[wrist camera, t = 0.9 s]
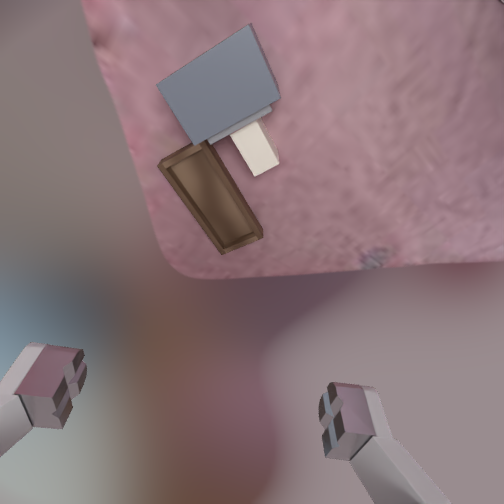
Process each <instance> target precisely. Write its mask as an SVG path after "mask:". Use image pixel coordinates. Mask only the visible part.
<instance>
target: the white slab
mask: <svg viewBox="0 0 504 504" xmlns="http://www.w3.org/2000/svg"><path fill="white" fill-rule="evenodd" d="M230 136H231V138H232V139H233V141H234V143H235V144H236V146H237V148H238V149H239V151H240V153H241V154H242V156H243V158H244V160H245V161H246V163H247V165H248V166H249V168H250V170H251V171H252V173H253V175H254V176H257V175H259V174H261V173H263V172H265V171H267V170H269V169H270V168H272V167H274V166H276V165H278V164H279V156H278V150H277V148H276V146H275V144H274V142H273V140H272V138H271V136H270V134H269V132H268V130H267V129H266V127H265V125H264V123H263V121H262V119H261V117H260V118H259V119H257V120H255V121H253V122H251V123H249V124H248V125H246V126H244V127H242V128H240V129H238V130H237V131H235V132H233V133H231V134H230Z"/></svg>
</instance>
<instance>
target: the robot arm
mask: <svg viewBox="0 0 504 504" xmlns="http://www.w3.org/2000/svg"><path fill="white" fill-rule="evenodd" d="M501 1H502V2H503V3H504V0H501ZM84 356H85V355H84V351H83V349H77V348H69V347H62V346H54V345H49V344H42V343H34V342H31V343H30V344H28V345H27V346H26V347H25V348H24V349H23V350H22V352H21V353H20V355H19V356H18V357H17V359H16V360H15V362H14V363H13V365H12V366H11V367H10V369H9V370H8V372H7V373H6V374H5V376H4V377H3V379H2V380H1V381H0V457H1V456H2V455H3V454H4V453H5V452H7V451H8V450H9V449H10V448H11V447H12V446H13V445H15V444H16V443H17V442H18V441H19V440H20V439H22V438H23V437H24V436H25V435H26V434H27V433H28V432H30V431H31V430H32V427H41V428H53V429H63V427H64V425H65V423H66V421H67V419H68V417H69V414H70V412H71V411H72V408H73V406H72V401H71V400H72V399H73V398H74V397H76V396H77V395H78V394H80V392H81V389H82V387H83V385H84V382H85V379H86V375H87V366H86V363H84V362H83V361H82V360H83V358H84ZM327 389H328V392H326V393H324V394H323V395H322V397H321V399H320V402H319V420H320V423H321V424H322V426H323V427H324V428H325V431H324V433H323V435H322V440H323V447H324V453H325V457H326V458H332V459H340V460H347V461H350V464H351V466H352V467H353V469H354V471H355V472H356V474H357V475H358V477H359V479H360V480H361V482H362V484H363V485H364V487H365V488H366V490H367V492H368V494H369V495H370V497H371V498H372V500H373V502H374V503H375V504H452V503H451V502H450V501H449V500H448V498H447V497H446V496H445V495H444V494H443V493H442V491H441V490H440V489H439V488H438V487H437V485H436V484H435V483H434V482H433V481H432V480H431V478H430V477H429V476H428V475H427V474H426V473H425V472H424V470H423V469H422V468H421V467H420V465H419V464H418V463H417V462H416V461H415V460H414V458H413V457H412V456H411V455H410V454H409V453H408V451H407V450H406V449H405V448H404V447H403V446H402V444H401V443H400V442H399V441H398V440H397V439H393V437H392V434H391V431H390V428H389V425H388V422H387V419H386V416H385V413H384V410H383V406H382V403H381V400H380V397H379V394H378V391H377V390H376V389H375V388H374V387H369V386H360V385H354V384H345V383H337V382H331V383H329V385H328V387H327Z"/></svg>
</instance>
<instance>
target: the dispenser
mask: <svg viewBox="0 0 504 504" xmlns="http://www.w3.org/2000/svg"><path fill="white" fill-rule="evenodd" d="M156 86H157V87H158V89H159V91H160V92H161V94H162V95H163V97H164V98H165V100H166V102H167V103H168V105H169V106H170V108H171V110H172V111H173V113H174V114H175V116H176V118H177V119H178V121H179V122H180V124H181V125H182V127H183V129H184V130H185V132H186V133H187V135H188V137H189V138H190V140H191V141H192V143H193V144H194V146H195V145H197V144H199V143H201V142H202V141H204V140H206V139H207V140H208V142H209V143H210V145H211V144H213V143H215V142H216V141H218V140H220V139H222V138H224V137H226V136H227V135H229V134H231V133H233V132H235V131H237V130H238V129H240V128H242V127H244V126H246V125H248V124H249V123H251V122H253V121H255V120H257V119H259V118H260V117H262V116H264V115H266V114H268V113H270V112H271V111H272V108H271V106H270V104H271V103H273V102H275V101H276V100H278V99H280V98H281V97H280V92H279V87H278V84H277V81H276V79H275V77H274V75H273V72H272V70H271V68H270V65H269V63H268V61H267V58H266V56H265V54H264V51H263V49H262V47H261V44H260V42H259V40H258V37H257V35H256V33H255V31H254V28H253V26H252V24H251V23H250V24H248V25H247V26H245V27H244V28H242V29H241V30H239V31H238V32H236V33H234V34H233V35H231V36H230V37H228V38H227V39H225V40H224V41H222V42H221V43H219V44H218V45H216V46H214V47H213V48H211V49H210V50H208V51H207V52H205V53H204V54H202V55H201V56H199V57H198V58H196V59H194V60H193V61H191V62H190V63H188V64H187V65H185V66H184V67H182V68H181V69H179V70H178V71H176V72H174V73H173V74H171V75H170V76H168V77H167V78H165V79H164V80H162V81H161V82H159V83H158V84H156Z"/></svg>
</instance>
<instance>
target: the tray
mask: <svg viewBox="0 0 504 504" xmlns="http://www.w3.org/2000/svg"><path fill="white" fill-rule="evenodd" d="M157 167H158V168H159V169H160V171H161V172H162V173H163V175H164V176H165V178H166V179H167V180H168V182H169V183H170V184H171V186H172V187H173V189H174V190H175V191H176V193H177V194H178V196H179V197H180V198H181V200H182V201H183V202H184V204H185V205H186V207H187V208H188V209H189V211H190V212H191V213H192V215H193V216H194V218H195V219H196V220H197V222H198V223H199V224H200V226H201V227H202V229H203V230H204V231H205V233H206V234H207V236H208V237H209V238H210V240H211V241H212V242H213V244H214V245H215V247H216V248H217V249H218V251H219V252H220V253H221V255H223V254H226V253H228V252H230V251H233V250H235V249H238V248H240V247H242V246H245V245H247V244H250V243H252V242H254V241H257V240H259V239H261V238H263V229H262V227H261V225H260V224H259V222H258V220H257V219H256V217H255V215H254V214H253V212H252V210H251V209H250V207H249V205H248V204H247V202H246V200H245V199H244V197H243V195H242V194H241V192H240V190H239V188H238V187H237V185H236V183H235V182H234V180H233V178H232V177H231V175H230V173H229V172H228V170H227V168H226V167H225V165H224V163H223V162H222V160H221V158H220V157H219V155H218V153H217V152H216V150H215V148H214V147H213V145H212V144H211V145H210V143H209V142H208V140H207V139H206V140H204V141H202V142H201V143H199V144H197V145H195V146H194V144H193V143H191V144H189V145H187V146H185V147H183V148H182V149H180V150H178V151H176V152H174V153H173V154H171V155H169V156H167V157H165V158H164V159H162V160H161V161H160V163H159V164H158V165H157Z"/></svg>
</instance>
